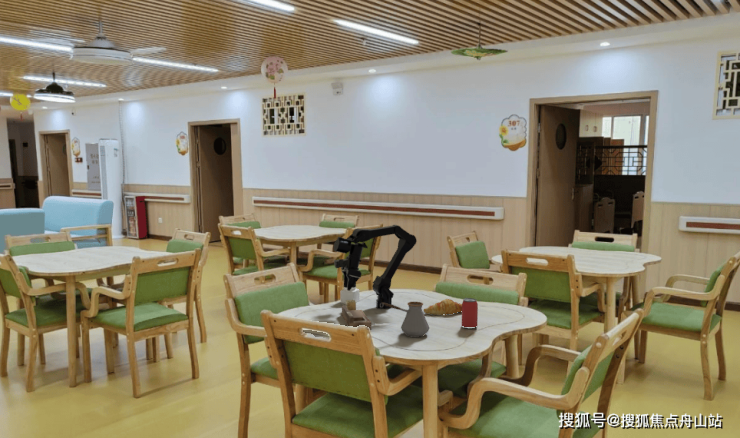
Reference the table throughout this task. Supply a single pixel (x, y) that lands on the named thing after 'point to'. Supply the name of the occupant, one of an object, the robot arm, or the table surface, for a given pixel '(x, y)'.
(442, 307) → the croissant
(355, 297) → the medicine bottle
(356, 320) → the guide board
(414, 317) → the coffee pot
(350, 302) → the brass clip block
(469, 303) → the beer can
